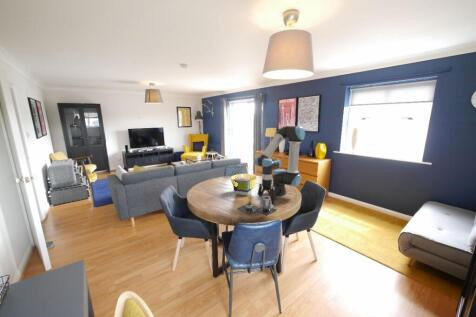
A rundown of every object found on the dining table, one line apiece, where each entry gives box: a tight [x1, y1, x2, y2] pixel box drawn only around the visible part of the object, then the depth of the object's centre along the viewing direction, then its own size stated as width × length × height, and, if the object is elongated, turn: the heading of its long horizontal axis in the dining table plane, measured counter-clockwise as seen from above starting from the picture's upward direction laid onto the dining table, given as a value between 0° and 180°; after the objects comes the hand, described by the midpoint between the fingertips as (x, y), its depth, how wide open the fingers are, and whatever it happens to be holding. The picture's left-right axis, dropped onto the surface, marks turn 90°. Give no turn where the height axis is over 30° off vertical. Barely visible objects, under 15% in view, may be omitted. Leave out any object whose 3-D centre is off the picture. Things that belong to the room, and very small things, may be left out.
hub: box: [237, 196, 260, 216], centre depth 160 cm, size 14×14×10 cm
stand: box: [256, 198, 278, 216], centre depth 158 cm, size 12×12×10 cm
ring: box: [260, 195, 271, 206], centre depth 157 cm, size 8×8×5 cm
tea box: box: [232, 176, 252, 197], centre depth 194 cm, size 15×10×15 cm, turn 66°
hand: (266, 205), depth 158 cm, fingers open, 10 cm apart
